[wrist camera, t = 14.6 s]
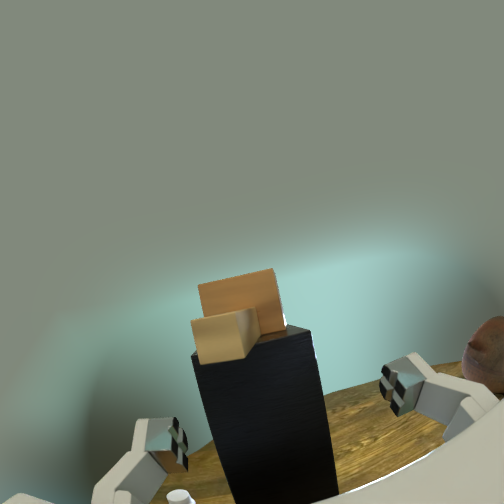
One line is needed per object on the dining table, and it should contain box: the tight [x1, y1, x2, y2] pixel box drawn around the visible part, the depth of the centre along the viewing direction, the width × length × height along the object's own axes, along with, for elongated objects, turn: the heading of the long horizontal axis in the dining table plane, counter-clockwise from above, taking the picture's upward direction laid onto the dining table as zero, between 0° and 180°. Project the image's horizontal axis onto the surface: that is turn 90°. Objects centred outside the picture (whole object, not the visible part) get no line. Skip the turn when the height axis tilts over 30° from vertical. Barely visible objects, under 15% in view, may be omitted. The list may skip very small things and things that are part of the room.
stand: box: [191, 325, 339, 504], centre depth 21 cm, size 9×9×36 cm
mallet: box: [191, 268, 286, 365], centre depth 22 cm, size 15×7×6 cm, turn 173°
